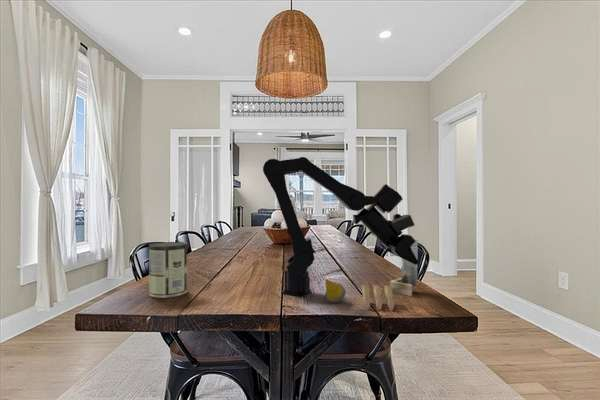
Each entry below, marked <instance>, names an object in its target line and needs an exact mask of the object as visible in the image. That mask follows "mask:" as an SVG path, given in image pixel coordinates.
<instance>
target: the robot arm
mask: <svg viewBox="0 0 600 400" xmlns="http://www.w3.org/2000/svg"><path fill="white" fill-rule="evenodd" d="M262 172H263V174H264V176H265V178H266V180H267V181H268V184H269V185H270V187H271V189H272V190H273V193H275V197H276V200H277V203H278V206H279V209H280V211H281V214H282V217H283V220H284V223H285V225H286V228H287V231H288V233H289V238H290V243H291V249H292V250H291V251H292V255H291V257H289V259H288V260H286V262H285V263H286V270H284V290H281V293H282V294H285V295H290V296H291V295H292V296H297V297H301V296H303V295H306V294H308V293H311V292H312V289H311V284H310V283H311V281H310V279H311V277H310V276H309V274H310V273H309V272H310V271H307V270H308V268H309V267H311V266H312V265H313V263H314V262H315V255H314V254H316V251H315V248H313V243H312V239H311V238H310V237H307V238H306V237H305V236H304V234H303V231H302V229H301V226H300V223H299V221H298V220H299V219H298V217H297V215H296V211H295V209H294V206H293V203H292V200H291V197H290V194H289V192H288V188H287V182H286V181H287V180H286V177H285V175H286V176H287V175H290V174H295V173H300V172H301V173H302V174H303V175H305V176H306V177H308V178H309V179H310V180H312V181H314V182H315V183H317V184H318V185H319V186H321V187H322V188H324V189H325V190H327V191H328V192H329V193H331V194H332V195H333V196H335V198H336V199H337V200H338V201H339V202H340V203H341V204H342V205H343V206H344V207H345V208H346V209H348V210H349V211H353V212H358V211H359V212H358V213H357V214H352V217H353V218H352V223H353V225H354V224H355V225H358V224H359V223H360V222H361V223H362V224H363V225H364V226H365V227H366V229H368V230H369V231H370V234H371V235H372V236H374V237H375V238H377V240H376V242H377V243H376V244H377V245H378V246H379V247H380V248H381V249H382V250H383V249H385V251H387V252H388V253H390V254H392V255H394V256H397V257H398V258H401V259H402V258H403V259H405V260H407V261H409V262H411V263H413V264H415V265H417V266H418V264H419V261H418V258H417V259H416V257H415V255H414V253H413V251H412V249H411V246H412V245H413V244H414V243H415V241H416V240H417V239H415V238H414V237H413V236H412V235H410V234H403V231H404V230H406V229H408V228H412V227H414V226H415V223H414V221H413V218H412V215H411V214H403V215H401V214H400V213H396V214H393V216H392V220H389V219H387V218H386V217H385V216H383V214H385V213H388V214H390V213H391V212H392V211H393V210H394V209H395V208H396V207H397V206H398V205H399V204H400V203H401V202H402V201H403V197H402V195H401V194H400V193H399V192H398V191H397V190H395V189H393V188H392V187H390V186H389V185H388V184H383V185H382V186H381V188H380V189H379V190H378V191H377V192H376V193H375V194H374V195H365V194H364V192H362V191H360V190H358V189H356V188H354V187H352V186H349V185H346V184H344V183H342V182H340V181H339V180H338V179H336V178H335V177H333V176H332V175H330V174H329V173H327V172H326V171H325V170H323V169H321V168H320V167H319V166H317V165H316V164H315V163H312V162H311V161H310V160H309V159H308V157H305V156H301V157H298V158H289V159H282V160H279V159H276V158H270V159H267V160H266V161H265V162H264V164H263V166H262ZM366 206H368V207H367V208H365V207H366Z"/></svg>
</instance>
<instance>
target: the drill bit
mask: <svg viewBox="0 0 600 400" xmlns="http://www.w3.org/2000/svg"><path fill="white" fill-rule="evenodd" d="M324 282H325V289H326V290H325V296H324V297H325V298H326V300H327V301H328V302H329V303H331V304H338V303H340V302H343V300H344V298H345V296H346V288H345V287H344V286H343V285H342V284H341V283H336V282H333V281H331V280H329V279H327V278H326V279H325V280H324Z"/></svg>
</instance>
